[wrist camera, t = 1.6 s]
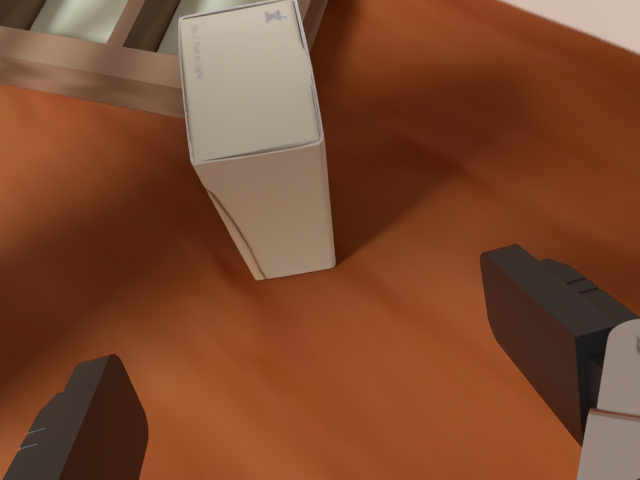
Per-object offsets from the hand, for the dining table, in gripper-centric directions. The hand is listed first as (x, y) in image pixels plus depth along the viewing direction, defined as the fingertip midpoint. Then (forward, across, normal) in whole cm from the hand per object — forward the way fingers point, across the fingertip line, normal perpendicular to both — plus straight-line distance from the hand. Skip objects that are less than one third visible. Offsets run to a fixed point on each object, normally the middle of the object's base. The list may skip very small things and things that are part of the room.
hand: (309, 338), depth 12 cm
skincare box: (+17, 0, +4) cm, 18 cm away
